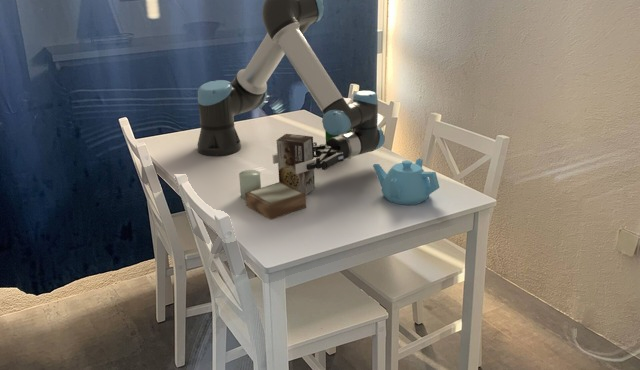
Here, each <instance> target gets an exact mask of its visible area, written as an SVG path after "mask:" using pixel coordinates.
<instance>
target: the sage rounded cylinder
mask: <svg viewBox="0 0 640 370" xmlns="http://www.w3.org/2000/svg"><path fill="white" fill-rule="evenodd" d="M238 177H239V189H240V198H241V199H242V200H244V201H246V197H245V193H246V192H249V191H253V190H256V189H259V188H262V183H261V172H260V171H258V170H256V169H247V170H246V169H245V170H242V171H240V172H239V174H238Z"/></svg>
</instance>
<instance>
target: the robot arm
mask: <svg viewBox="0 0 640 370" xmlns="http://www.w3.org/2000/svg"><path fill="white" fill-rule="evenodd" d="M323 15H324V3H323V0H264V1H263V4H262V8H261V17H262V23H263V26H264V28H265V30H266V35H265V37H264V38H263V39H262V40H261V43H260V44H259V46H258V48H257V49H256V51H255V52H254V54H253V56H252V58H251V59H250V61H249V62H248V64H247V66H246V67H245V68H242V69H240V70H239V71H238V72H237V73H236V75H235V76H234V79H233V80H232V81H228V80H224V79H216V80H213V81H212V80H211V81H207V82H206V83H203V84H201V85H200V86H199V87H198V89H197V103H198V112H199V123H200V124H199V125H200V133H199V137H198V141H197V152H198V153H199V154H201V155H204V156H211V157H212V156H213V157H215V156H216V157H218V156H219V157H221V156H226V155H231V154H235V153H237V152H239V151H240V150H241V148H242V145H241V144H242V143H241V139H240V137H239V135H238V132H237V130H236V128H235V119H234V118H235V117H236V116H237V115H241V114H243V113H247V112H249V111H250V112H251V111H255V110H256V109H258V108H260V107H261V106H263V104H264V103H265V102H266V100H267V96H268V93H267V91H268V84H267V82H268V80H269V79H270V78H271V77H272V74H273V73H274V72H275V69H277V67H278V65H279V64H280V62H281V61H282V59H283V58H284V56H286V57H287V59H288V61H289V63H290V64H291V66H292V67H293V69H294V70H295V71H296V73H297V75H298V76H299V77H300V80H301V81H302V82H303V84H304V86H305V87H306V89H307V90H308V92H309V93H310V95H311V96H312V98H313V100H314V101H315V102H316V105H317V106H318V107H319V109H320V111H321V112H322V114H323V116H322V120H321V123H322V127H323V129H324V131H326V132H327V133H329V134H331V135H339V134H343V133H346V132H348V131H349V130H351V129H352V130H353V131H352V132H350V133H346V134H343V135H340V136H336V137H332V138H330V139H328V141H327V142H326V141H325V144H323V143H322V144H318V143H317V142H316V141H313V155H314V159H312V160H309V161H305V162H302V163H299V164H295V168H296V174H299V173H303V172H306V171H309V170H312V169H314V170H315V169H317V170H319V169H321V170H322V171H326V170H327V169H329V168H331V167H333V166H334V165H336V164H338V163H341V162H344V160H346V159H349V160H350V159H352V158H353V157H355V156H356V157H357V156H360V155H363V154H366V153H372V152H373V151H375V150H378V149H380V148H382V147H383V146H384V144H385V142H386V135H384V131H383V129H382V128H381V127H380V126H378V117H379V116H378V111H379V104H378V103H379V102H378V101H379V100H378V94H377V92H375V91H372V90H359V91H358V90H357V91H355V92H354V94H353V99H352V101H351V102H352V103H349V104H347V103H346V101H345V100H344V99H343V98H344V96H343V95H342V93H341V92H340V91H339V89H338V88H337V86H336V84H335V83H334V82H333V80H332V78H331V76H330V75H329V74H328V72H327V71H326V69H325V68H324V66H323V64H322V63H321V61H320V60H319V58H318V56H317V55H316V53H315V52H314V50H313V49H312V47H311V45H310V43H309V42H308V41H307V39H306V38H305V36H304V34H305V33H306V31H307V30H308V28H309V27H310V25H314V24H316V23H317V22H319V21H321V19H322V17H323ZM234 116H235V117H234ZM272 164H274V165H276V164H278V155H277V153H274V154H272Z"/></svg>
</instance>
